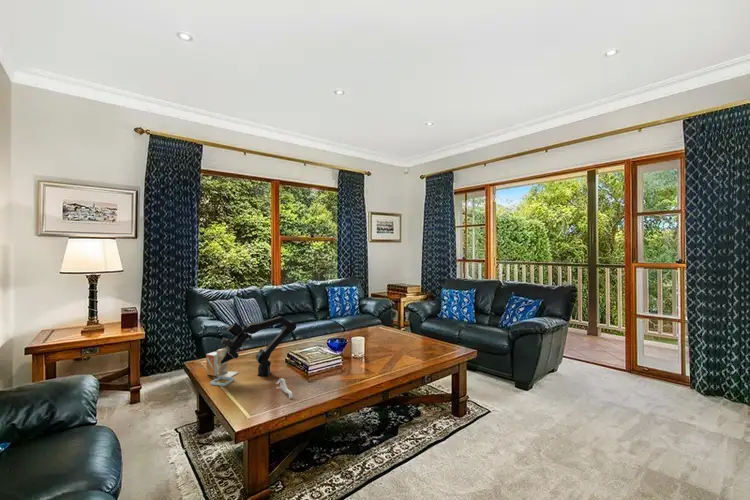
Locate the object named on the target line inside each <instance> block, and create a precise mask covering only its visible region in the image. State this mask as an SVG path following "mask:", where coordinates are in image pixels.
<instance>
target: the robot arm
mask: <svg viewBox="0 0 750 500" xmlns="http://www.w3.org/2000/svg"><path fill="white" fill-rule="evenodd" d="M279 324H281V325H282V328H281V330H280V332H279V333H278V334H277V335H276V336H275V337H274V339H273V340H272V341H271V342H270V343H269V344H268V345H267V347H265V348H264V349H263V348H260V349H259V351H258V352H256V355H255V360H256V362H257V363H258V368H257V376H259V377H268V376H269V375H271V374H272V372H271V365H272V362H271V361H270V360H269V359H270V356H271V354H272V353H273V351H274V350H275V349H277V347H278V346H279V344H281V342H282V341H283V340H284V339H285V338H286V337H287V336H289V335H290V334H292V333H293V332H294V331H295V330H296V329H297V324H296V323H295V322H293V321H292V320H287V319H285V318H284V317H283V316H280V315H278V316H276V317H274V318H269V319H266V320H263V321H260V322H250V323H249V322H248V323H247V324H246V325H242V326H241V325H240V324H238V322H236V321H234V323H232V324H230V325H229V326H228V327H227V329H226V331H227V332H229V334H231V335H232V336H233V337H235V338H232V339H230V338H226V337H222V338H221V341H220V343H221V345H222V349H228V351H226V355H225V357H224V358H223V360H222V361H221V362H220V363H221V364H223V363H225V362H227V361H228V362H229V361H231V360H233V359H236V360H237V358H238V359H239V353H238V350H239V349H240V348H243V345H244V344H245V342H246V341H247V340H248V339H249V340H250V341H251V340H253V335H254V334H256V333H258V332H259V331H261V330H263V329H266V328H270V327H272V326H275V325H279Z"/></svg>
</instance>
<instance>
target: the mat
mask: <svg viewBox="0 0 750 500" xmlns="http://www.w3.org/2000/svg"><path fill="white" fill-rule="evenodd" d="M238 374H239V371H229V370H228V373H227V374H226V375H217V376H216V378H218V377H220V376H222V377H233V378H234V376H235V375H238Z"/></svg>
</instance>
